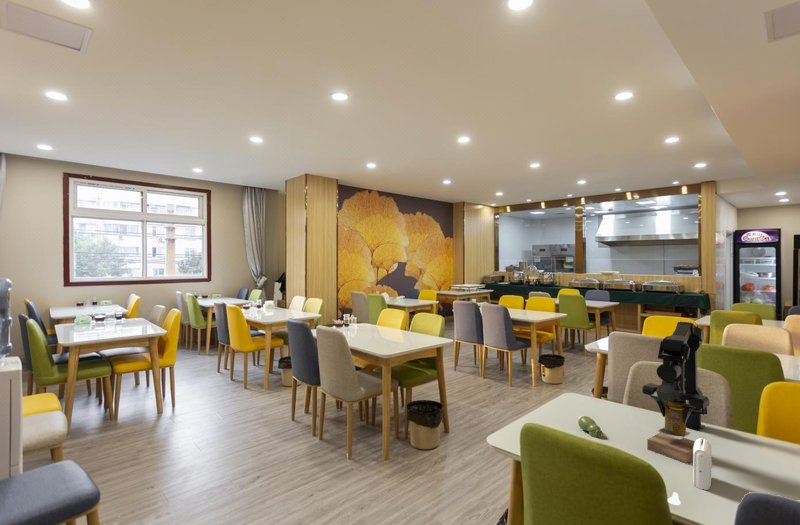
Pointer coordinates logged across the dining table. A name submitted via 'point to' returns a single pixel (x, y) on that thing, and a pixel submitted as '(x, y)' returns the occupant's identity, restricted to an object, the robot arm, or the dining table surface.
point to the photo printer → (702, 464)
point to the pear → (590, 426)
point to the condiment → (674, 420)
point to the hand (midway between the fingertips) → (674, 419)
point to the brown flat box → (672, 447)
